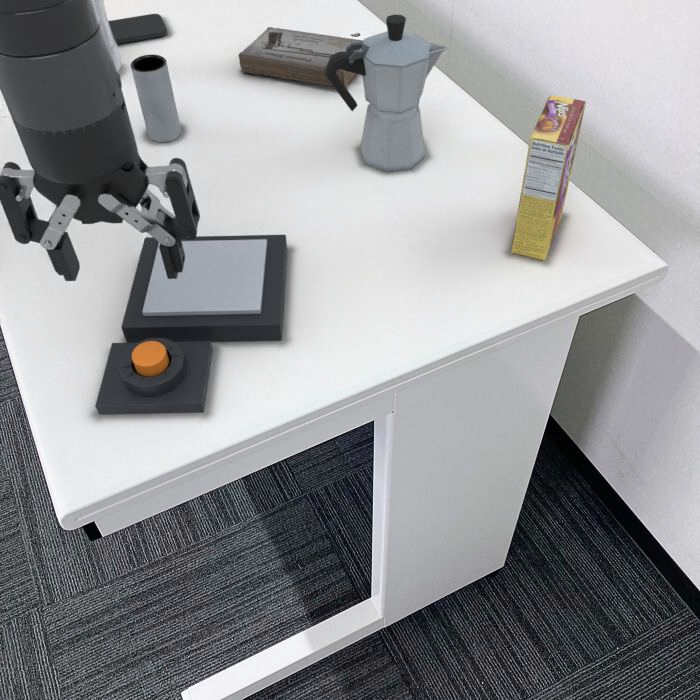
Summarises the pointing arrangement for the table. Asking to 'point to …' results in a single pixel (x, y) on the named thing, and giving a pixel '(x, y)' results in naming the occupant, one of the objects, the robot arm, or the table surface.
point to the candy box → (547, 176)
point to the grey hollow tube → (156, 97)
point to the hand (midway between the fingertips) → (124, 273)
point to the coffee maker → (389, 92)
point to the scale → (210, 291)
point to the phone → (137, 28)
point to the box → (295, 55)
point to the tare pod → (156, 380)
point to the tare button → (150, 358)
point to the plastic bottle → (108, 32)
